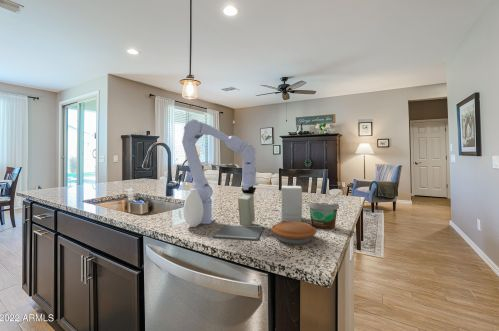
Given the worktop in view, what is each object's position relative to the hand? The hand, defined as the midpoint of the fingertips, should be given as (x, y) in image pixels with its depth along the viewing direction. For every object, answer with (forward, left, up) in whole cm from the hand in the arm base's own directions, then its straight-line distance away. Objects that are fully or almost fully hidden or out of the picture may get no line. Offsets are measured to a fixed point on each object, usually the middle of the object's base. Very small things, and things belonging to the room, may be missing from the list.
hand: (248, 204), depth 104 cm
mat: (-1, -14, -8) cm, 16 cm away
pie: (+19, -17, -8) cm, 27 cm away
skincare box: (0, -3, -8) cm, 8 cm away
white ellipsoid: (-21, -10, -8) cm, 25 cm away
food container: (+30, -2, -8) cm, 31 cm away
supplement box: (+18, +9, -8) cm, 22 cm away
